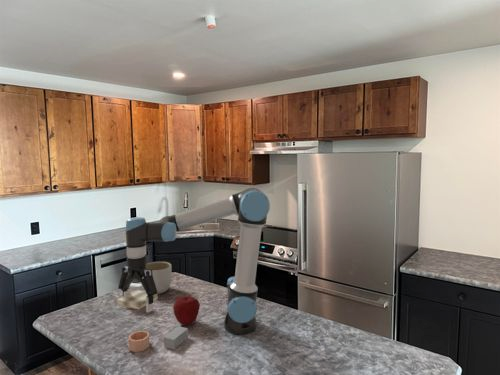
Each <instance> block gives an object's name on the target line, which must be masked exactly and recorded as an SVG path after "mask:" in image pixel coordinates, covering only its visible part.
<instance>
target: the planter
mask: <svg viewBox="0 0 500 375" xmlns="http://www.w3.org/2000/svg"><path fill="white" fill-rule="evenodd" d="M145 268H146V270H152V275H153V279H154V282H155V285H156V289H157V292H158V293H157V295H160V294H163V293H166V292H167V291H168V290H169V289H170V287H171V284H172V264H171V263H170V262H168V261H154V262H153V261H152V262H148V263H147V264H146V266H145ZM143 278H144V277H143ZM143 278H142V279H143ZM144 291H145V289H144Z"/></svg>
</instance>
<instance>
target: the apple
mask: <svg viewBox="0 0 500 375" xmlns="http://www.w3.org/2000/svg"><path fill="white" fill-rule="evenodd" d="M200 306H201V304H200V302H199V300H198V299H197V298H196V297H194V296H191V295H186V296H185V295H184V296H181V297H178V298H177V299H176V300H175V301H174V305H173V307H172V309H173V314H174V317H175V319H176V320H177V322H178V323H179V324H181V325H182V326H184V327H185V326H190V325H193V323H195V322H196V321H197V318H198V315H199V312H200V311H199V310H200Z"/></svg>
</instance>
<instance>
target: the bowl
mask: <svg viewBox="0 0 500 375" xmlns="http://www.w3.org/2000/svg"><path fill="white" fill-rule="evenodd" d="M150 341H151V340H150V332H149V331H146V330H139V331H138V330H137V331H134V332H132V333H130V334H129V335H128V351H130V352H133V353H139V352H143V351H144V352H145V350H147V349H148V348H149V347H150V346H151V345H150Z"/></svg>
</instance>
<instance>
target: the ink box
mask: <svg viewBox="0 0 500 375" xmlns="http://www.w3.org/2000/svg"><path fill="white" fill-rule="evenodd" d="M127 290H130V293H132V292H134V291H136V290H140V291H145V290H144V287H143V285H142V283H136V282H134V283H133V282H132V283H131V284H130V286H129V289H127ZM125 308H126V309H132V308H131V307H125Z"/></svg>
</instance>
